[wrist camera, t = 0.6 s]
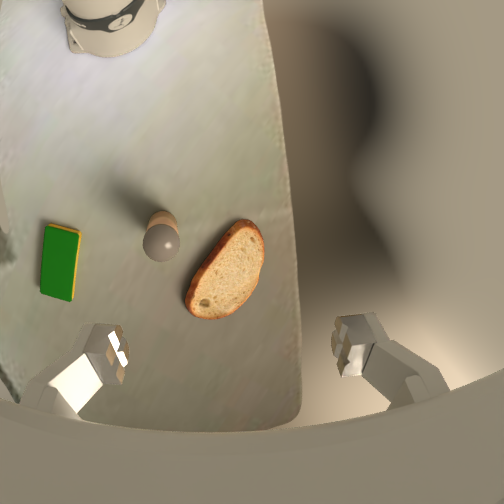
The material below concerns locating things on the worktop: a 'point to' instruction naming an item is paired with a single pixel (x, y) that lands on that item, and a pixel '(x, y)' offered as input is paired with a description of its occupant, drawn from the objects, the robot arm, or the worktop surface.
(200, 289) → the slice of bread
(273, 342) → the worktop surface
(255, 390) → the worktop surface
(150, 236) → the grey-capped jar
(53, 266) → the dish sponge
